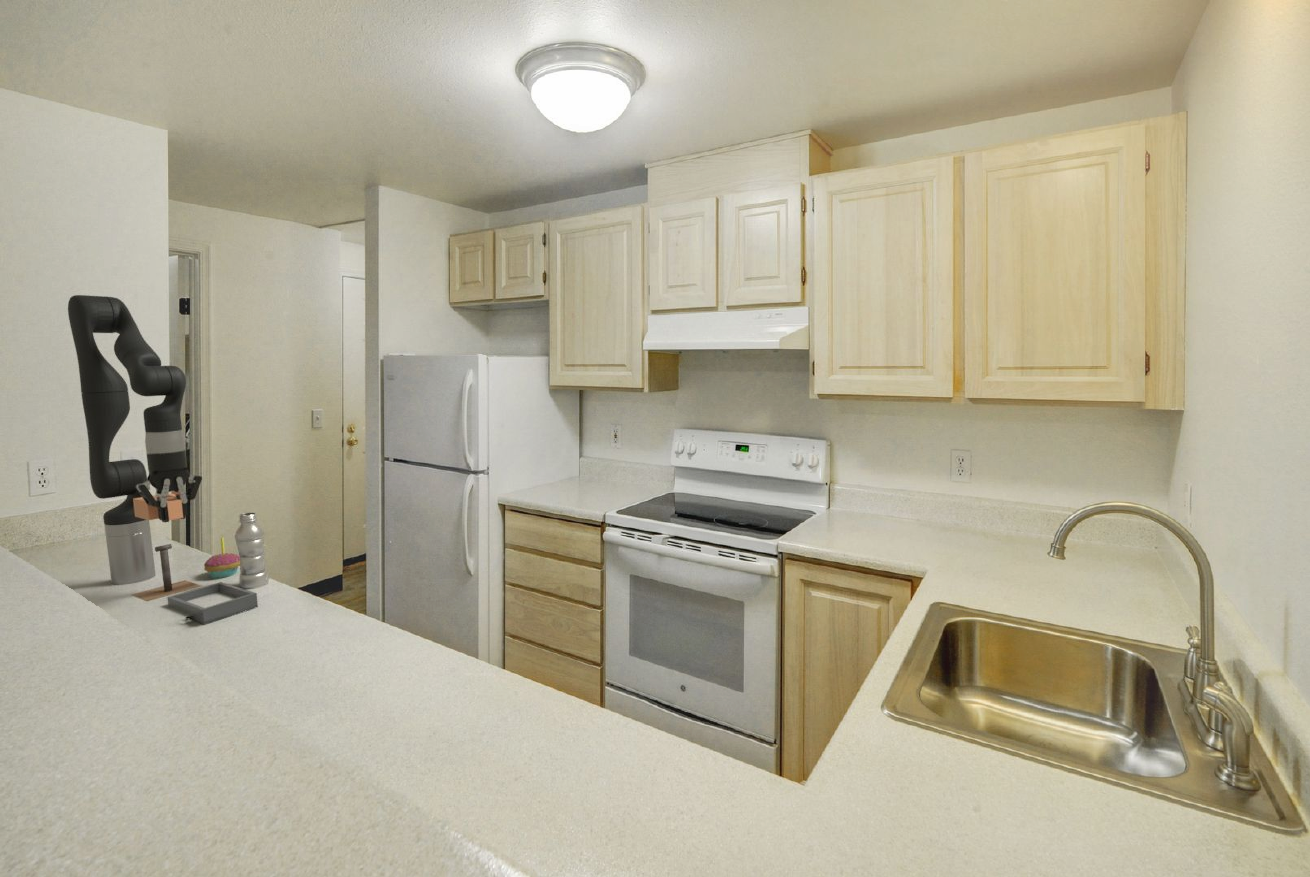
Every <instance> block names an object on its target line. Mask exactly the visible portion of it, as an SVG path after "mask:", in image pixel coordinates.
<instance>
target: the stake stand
mask: <svg viewBox="0 0 1310 877" xmlns="http://www.w3.org/2000/svg"><path fill="white" fill-rule="evenodd" d="M172 548H173V546H172V543H169V544H163V545H159V546H155V547H154V550H155V552H157V553H158V552H159V556H160V565H161V572H162V582H163V585H161V586H159V587H156V588H150V589H147V590H144V591H141V592H136V593H133V594H131V596H132V597H135V598H138V599H140V600H143V601H146V602H149V601H154V600H157V599H160V598H164V597H169V596H173V595H176V594H180V593H183V592H187V591H190V590H194V589H198V588H201V587H203V585H201V584H198V583H195V582H192V581H190V580H189V581H188V580H186V579H184V580H181V581H177V582H173V583H172V575H171V566H170V557H169V550H171V549H172Z"/></svg>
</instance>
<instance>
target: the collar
mask: <svg viewBox="0 0 1310 877" xmlns="http://www.w3.org/2000/svg"><path fill="white" fill-rule="evenodd" d="M152 496H153V497H154V499H155V500H156V494H152ZM133 503H134V512H135V517H139V518H142V519H146V520H149V521H153V520H157V519H159V517H158V508H157V507H156V506H151V505H147V503H146V502H145V500H144V499H143V498H142V497H140V498H134V499H133ZM166 507H167V508H168V518H169V521H173V520H178V519H179V518H183V511H182V501H181V499H176V496H175V494H174V493H170V492H169V493H168V497H167V504H166ZM159 520H160V519H159ZM179 520H180V519H179Z"/></svg>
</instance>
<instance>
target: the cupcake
mask: <svg viewBox="0 0 1310 877" xmlns="http://www.w3.org/2000/svg"><path fill="white" fill-rule="evenodd" d="M220 546H221V547H220V548H221V553H219V554H215V555H213V556H211V557H209V558H208V559H207V560H206V561H205V562H204V564H203V566H204V571H205V572H207V573H208V574H209V575H210V576H211V578H214V579H219V578H220V579H222V578H227V577H231V576H233V575H236V573H237V571H238V568H239V567H240V556H239V555H238V554H235V553H226V550H225V537H224V536H223V534H221V537H220Z"/></svg>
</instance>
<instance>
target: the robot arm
mask: <svg viewBox="0 0 1310 877" xmlns="http://www.w3.org/2000/svg"><path fill="white" fill-rule="evenodd" d="M67 314H68V320H69V325H70V330H71V335H72V337H73V338H72V339H73V343H74V348H75V353H76V358H77V363H78V364H77V365H78V372H79V380H80V392H81V393H80V394H81V400H82V406H83V412H84V418H85V424H86V433H87V441H88V457H89V459H88V460H89V461H88V462H89V464H88V465H89V466H88V467H89V480H90V486H91V489H92V491H93V494H94V495H95V497H96V498H98V499H101V500H102V499H111V498H118V497H125V496H126V498H125V499H124V501H123V502H121V503H119V505H117V506H115V507H112V508H111V509H109V510H107V511H106V512H104V513H103V517H102V518H103V525H104V526H103V527H104V533H105V539H106V549H107V556H108V562H109V563H108V564H109V565H108V566H109V572H110V574H109V575H110V581H111V584H112V585H115V586H116V585H118V586H123V585H133V584H137V583H143V582H145V581H148V580H151V579H153V578H155V577H156V569H155V568H156V567H155V559H154V558H155V557H154V551H153V542H152V534H151V524H150V520H146V519H142V518H139V517H135V512H134V503H133V499H134V498H140V497H142V498H143V499H144V500H145V502H146V503H147V505H151V506H156V507H157V508H158V517H159V521H161V522H162V523H169V522H170V520H169V518H168V508H167V507H166V504H167V497H168V493H170V492H173V493H172V494H175V496H176V499H181V501H182V511H183V518H179V520H184V519H186V517H187V516H188V514H189V512H188V502H190V501H193V500H195V498H196V496H197V494H198V492H199V488H200V486H201V482H202V480H203V477H202V476H201V475H197V474H191V473H190V472H189V470H188V462H187V453H186V452H187V451H186V442H185V437H184V433H183V428H182V427H183V425H182V419H181V418H182V417H181V416H182V415H181V410H182V405H183V400H184V395H185V392H186V388H187V387H186V386H187V377H186V375H185V372H184V371H183V370H182V369H181V368H180V367H178V366H176V365H162V361H161V357H160V356H159V355H158V354H157V353H156V352H155V351H154V349H153V348H152V347H151V346H150V345H149V344H148V343H147V342H146V340H145V338H144V337H143V335H142V334H141V331H140V329H139V327H138V325H137V323H136V321H135V319H134V318H133V316H132V314H131V312H130V310H129V308H128V307H127V305H126V304H125V303H124V302H123V301H122V300H121V299H119V298H117V297H115V296H114V297H112V296H101V295H100V296H99V295H87V294H85V295H83V294H74V295H72V296H71V297H70V298H69V300H68V303H67ZM114 333H116V334H118V336H117V338H116V340H115V342H114V345H113V351H114V354H115V356H116V358H117V360H118V361H119V362H120V363H121V364H122V366H123V367H124V368H125V369H126V372H127V374H128V377H129V384H130V388H131V390H132V391H133V392H134V393H135V394H136V395H139V396H141V397H157V396H158V397H160V396H161V397H162V396H164V399H163V400H162V402H161V403H159V404H157V405H156V404H155V405H152V406H149V407H146V408H145V409H144V410H143V421H144V422H143V423H144V433H145V436H144V437H145V440H144V444H145V452H146V453H145V454H146V461H147V469H148V475H147V470H146V468H145V465H144V463H143V462H142V461H141V460H139V459H136V458H135V459H134V458H132V459H131V458H130V459H123V460H121V459H120V460H113V461H110V453H111V447H112V443H113V441H114V439H115V438H116V435H117V434H118V432H119V431H120V430H121V428H122V426H123V425H124V423H125V421H126V420H127V418H128V416H129V414H130V410H131V403H130V395H129V389H128V388H129V387H128V384H127V382H126V381H125V379H124V377H123V376H122V375H121V374H120V373H119V372H118V371H117V370H116V369H115V368H114V367H113V366H112V364H111V363H110V362H108V360H107V359H106V358H105V357H104V356H103V354H102V353H101V351H100V349H99V348H98V345H97V343H96V340H95V336H94V334H114ZM187 482H188V487H187V489H185V485H186V483H187ZM150 485H151V486H152V487H153V488H154V489H155V495H156V500H155V499H154V497H153V496H152V495H153V494H152V492H151V491H150V490H151V486H150Z"/></svg>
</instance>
